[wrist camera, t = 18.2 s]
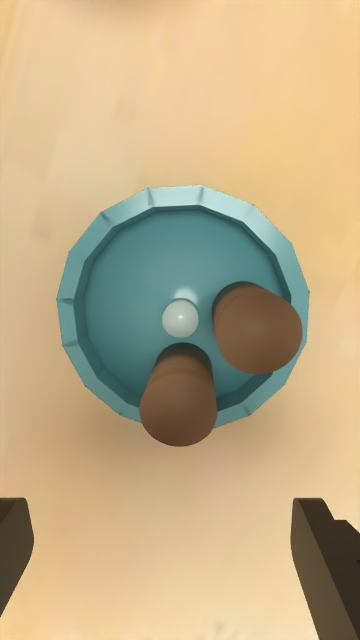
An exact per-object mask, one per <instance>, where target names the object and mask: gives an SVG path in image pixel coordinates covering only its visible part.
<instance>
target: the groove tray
mask: <svg viewBox="0 0 360 640" xmlns="http://www.w3.org/2000/svg"><path fill="white" fill-rule="evenodd" d="M239 281H247V282H252V283H255V284H257V285H259V286H261V287H263V288H265V289H267V290H268V291H270V292H272V293H274V294H276V295H277V296H279V297H281V298H283V299H284V300H286V301H287V302H289V303H290V304H291V305H292V306H293V307H294V308H295V310H296V311H297V313H298V315H299V317H300V319H301V323H302V328H303V335H302V341H301V345H300V347H299V350H298V351H297V353H296V355H295V356H294V357H293V359H292V360H291V361H290V362H289V363H288V364H286V365H285V366H284V367H282V368H280V369H279V370H276V371H274V372H271V373H267V374H259V375H258V374H248V373H245V372H242V371H239V370H237V369H236V368H234V367H233V366H231V365H230V364H229V363H228V362H227V361H226V360H225V359H224V357H223V356H222V354H221V352H220V350H219V347H218V344H217V339H216V334H215V329H214V325H213V320H212V313H211V312H212V304H213V301H214V299H215V297H216V296H217V294H218V293H219V292H220V291H221V290H222V289H223V288H224V287H226V286H227V285H229V284H232V283H234V282H239ZM309 293H310V291H309V290H308V287H307V284H306V281H305V279H304V276H303V273H302V270H301V268H300V265H299V262H298V260H297V257H296V254H295V251H294V249H293V246H292V243H291V242H290V241H289V240H288V239H287V238H286V237H285V236H284V235H283V234H282V233H281V232H280V231H279V230H278V229H277V228H276V227H275V226H274V225H273V224H272V223H271V222H270V221H269V220H268V219H267V218H266V217H265V216H264V215H263V214H262V213H261V212H260V211H259V210H258V209H257V208H256V207H255V205H253V204H250V203H248V202H245V201H242V200H240V199H237V198H235V197H232V196H230V195H227V194H224V193H222V192H219V191H217V190H214V189H212V188H209V187H207V186H204V185H194V186H174V187H155V188H147V189H145V190H143V191H141V192H139V193H137V194H135V195H133V196H131V197H129V198H128V199H126V200H124V201H122V202H120V203H118V204H116V205H114V206H112V207H110V208H108V209H106V210H104V211H102V212H100V214H99V215H98V217H97V218H96V219H95V220H94V222H93V223H92V224H91V225H90V227H89V228H88V229H87V230H86V232H85V233H84V234H83V235H82V237H81V238H80V239H79V240H78V242H77V243H76V244H75V245H74V247H73V248H72V249H71V250H70V251H69V254H68V258H67V262H66V266H65V269H64V273H63V277H62V280H61V284H60V288H59V292H58V295H57V298H56V300H57V307H58V314H59V322H60V329H61V337H62V344H63V345H62V346H63V347H64V349H65V351H66V353H67V354H68V356H69V358H70V360H71V362H72V363H73V365H74V367H75V369H76V371H77V372H78V374H79V376H80V378H81V379H82V381H83V383H84V385H85V387H87V388H88V389H89V390H91V391H92V392H93V393H94V394H95V395H96V396H98V397H99V398H100V399H101V400H102V401H104V402H105V403H106V404H107V405H108V406H109V407H111V408H112V409H113V410H114V411H115V412H117V413H118V414H119V415H121V416H123V417H126V418H129V419H132V420H134V421H137V422H140V423H142V422H141V418H140V413H139V407H140V402H141V398H142V396H143V393H144V391H145V388H146V386H147V383H148V380H149V378H150V375H151V373H152V370H153V368H154V365H155V362H156V360H157V358H158V356H159V354H160V353H161V352H162V351H163V350H164V349H165V348H166V347H168V346H169V345H172V344H174V343H179V342H187V343H191V344H194V345H197V346H198V347H200V348H201V349H203V350H204V351H205V352H206V354H207V355H208V356H209V358H210V361H211V364H212V371H213V379H214V388H215V397H216V405H217V419H216V423H215V425H214V427H213V428H216V427H219V426H221V425H224V424H227V423H229V422H232V421H235V420H238V419H240V418H243V417H246V416H249V415H250V414H252V413H253V412H254V411H255V410H256V409H257V408H258V407H260V406H261V405H262V404H263V403H264V402H265V401H266V400H268V399H269V398H270V397H271V396H272V395H273V394H274V393H276V392H277V391H278V390H279V389H280V388H281V387H283V386H284V385H285V383H286V381H287V379H288V377H289V375H290V373H291V371H292V369H293V367H294V365H295V363H296V361H297V359H298V357H299V355H300V353H301V351H302V349H303V347H304V345H305V343H306V338H307V323H308V307H309Z"/></svg>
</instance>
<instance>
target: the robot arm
mask: <svg viewBox="0 0 360 640" xmlns="http://www.w3.org/2000/svg"><path fill="white" fill-rule="evenodd" d="M33 545H34V535H33V530H32V525H31V520H30V514H29V509H28V504H27V501H26V499H25V498H0V617H1V615H2V613H3V611H4V609H5V607H6V605H7V603H8V601H9V599H10V597H11V595H12V593H13V591H14V590H15V588H16V586H17V584H18V582H19V580H20V578H21V576H22V574H23V572H24V570H25V568H26V566H27V564H28V562H29V560H30V557H31V554H32V550H33ZM291 550H292V556H293V561H294V564H295V568H296V571H297V574H298V577H299V580H300V583H301V586H302V589H303V592H304V595H305V598H306V601H307V604H308V607H309V610H310V613H311V616H312V619H313V622H314V625H315V628H316V631H317V634H318V637H319V640H360V533H359V532H358V531H357V530H356V529H355V528H354V527H353V526H352V525H351V524H350V523H348V522H347V521H346V520H334V518H333V516H332V514H331V512H330V511H329V509H328V507H327V505H326V503H325V502H324V500H323V499H322V498H294V500H293V509H292V524H291Z"/></svg>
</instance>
